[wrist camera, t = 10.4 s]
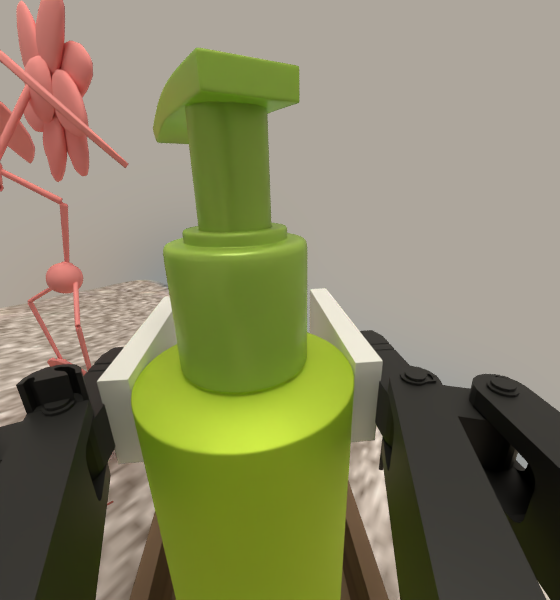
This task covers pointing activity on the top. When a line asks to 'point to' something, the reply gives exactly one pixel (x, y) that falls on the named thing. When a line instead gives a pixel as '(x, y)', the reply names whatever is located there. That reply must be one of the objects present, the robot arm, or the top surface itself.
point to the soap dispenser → (242, 363)
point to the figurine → (52, 128)
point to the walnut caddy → (355, 572)
